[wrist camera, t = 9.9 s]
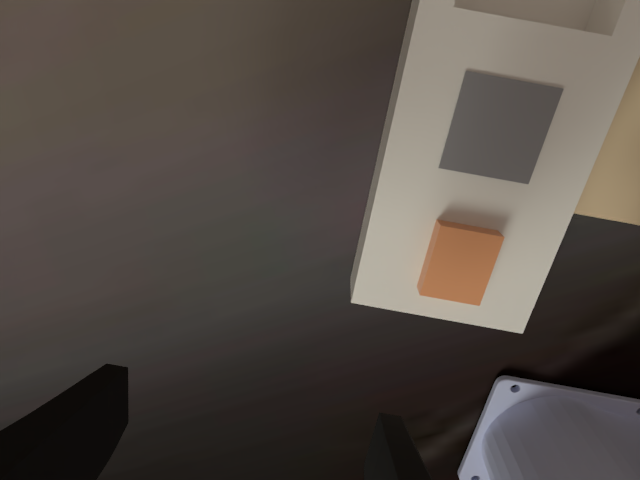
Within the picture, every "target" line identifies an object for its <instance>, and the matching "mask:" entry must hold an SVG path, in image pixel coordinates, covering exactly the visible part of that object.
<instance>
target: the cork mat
mask: <svg viewBox="0 0 640 480" xmlns="http://www.w3.org/2000/svg"><path fill="white" fill-rule="evenodd" d="M574 213H575V214H581V215H586V216H592V217H597V218H603V219H608V220H614V221H619V222H625V223H630V224H636V225H640V57H639V59H638V62H637V64H636V66H635V69H634V71H633V73H632V76H631V78H630V81H629V83H628V85H627V88H626V90H625V92H624V95H623V97H622V99H621V102H620V104H619V107H618V109H617V111H616V114H615V116H614V118H613V121H612V123H611V125H610V128H609V130H608V133H607V135H606V137H605V140H604V142H603V144H602V147H601V149H600V151H599V154H598V156H597V159H596V161H595V163H594V166H593V168H592V170H591V173H590V175H589V177H588V180H587V182H586V185H585V187H584V189H583V192H582V194H581V196H580V199H579V201H578V204H577V206H576V208H575V211H574Z"/></svg>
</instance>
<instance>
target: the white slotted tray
mask: <svg viewBox="0 0 640 480" xmlns="http://www.w3.org/2000/svg"><path fill="white" fill-rule="evenodd" d="M639 57H640V0H412V3H411V7H410V12H409V16H408V21H407V25H406V30H405V34H404V39H403V43H402V48H401V52H400V57H399V61H398V66H397V70H396V75H395V79H394V84H393V88H392V93H391V97H390V102H389V106H388V111H387V115H386V120H385V124H384V129H383V133H382V138H381V142H380V147H379V151H378V156H377V161H376V165H375V170H374V174H373V179H372V183H371V188H370V192H369V197H368V201H367V206H366V210H365V215H364V219H363V224H362V228H361V233H360V237H359V242H358V246H357V251H356V255H355V260H354V264H353V269H352V273H351V278H350V282H351V303H355V304H361V305H366V306H372V307H378V308H383V309H389V310H394V311H400V312H405V313H411V314H416V315H422V316H427V317H433V318H439V319H444V320H450V321H455V322H461V323H466V324H472V325H477V326H483V327H488V328H494V329H499V330H505V331H511V332H516V333H522V334H523V331H524V329H525V327H526V324H527V322H528V319H529V317H530V315H531V312H532V310H533V308H534V305H535V303H536V301H537V298H538V296H539V293H540V291H541V289H542V286H543V284H544V282H545V279H546V277H547V274H548V272H549V270H550V267H551V265H552V263H553V260H554V258H555V256H556V253H557V251H558V248H559V246H560V244H561V241H562V239H563V237H564V234H565V232H566V230H567V227H568V225H569V222H570V220H571V218H572V215H573V213H574V211H575V208H576V206H577V204H578V201H579V199H580V196H581V194H582V192H583V189H584V187H585V185H586V182H587V180H588V177H589V175H590V173H591V170H592V168H593V166H594V163H595V161H596V159H597V156H598V154H599V151H600V149H601V147H602V144H603V142H604V140H605V137H606V135H607V133H608V130H609V128H610V125H611V123H612V121H613V118H614V116H615V114H616V111H617V109H618V107H619V104H620V102H621V99H622V97H623V95H624V92H625V90H626V88H627V85H628V83H629V81H630V78H631V76H632V73H633V71H634V69H635V66H636V64H637V62H638V59H639Z"/></svg>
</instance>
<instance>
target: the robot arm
mask: <svg viewBox="0 0 640 480" xmlns="http://www.w3.org/2000/svg"><path fill="white" fill-rule="evenodd" d="M513 385H516V386H515V387H512V386H513ZM639 408H640V399H635V398H629V397H623V396H618V395H612V394H607V393H601V392H596V391H590V390H585V389H579V388H573V387H568V386H562V385H557V384H551V383H546V382H540V381H534V380H529V379H523V378H518V377H512V376H505V375H503V376H500V377H498V378H497V379H496V380H495V382H494V385H493V387H492V390H491V392H490V394H489V397H488V399H487V402H486V404H485V406H484V409H483V411H482V414H481V416H480V419H479V421H478V423H477V426H476V428H475V431H474V433H473V435H472V438H471V440H470V443H469V445H468V448H467V450H466V452H465V455H464V457H463V460H462V462H461V464H460V467H459V469H458V476H459V479H460V480H640V409H639ZM127 424H128V367H122V366H117V365H111V364H105V365H104V366H102V367H101V368H99V369H98V370H96V371H94V372H93V373H91V374H90V375H88V376H87V377H85V378H84V379H82V380H81V381H79V382H78V383H76V384H75V385H73V386H72V387H70V388H69V389H67V390H65V391H64V392H62V393H61V394H59V395H58V396H56V397H55V398H53V399H52V400H50V401H48V402H47V403H45V404H44V405H42V406H41V407H39V408H37V409H36V410H34V411H33V412H31V413H30V414H28V415H26V416H25V417H23V418H21V419H20V420H18V421H16V422H15V423H13V424H11V425H10V426H8V427H6V428H4V429H3V430H1V431H0V480H96V479H97V478H98V476H99V475H100V473H101V472H102V470H103V469H104V467H105V465H106V464H107V462H108V461H109V459H110V457H111V455H112V454H113V452H114V450H115V448H116V446H117V444H118V442H119V440H120V438H121V436H122V434H123V432H124V430H125V428H126V426H127ZM364 480H433V479H432V477H431V475H430V473H429V472H428V470H427V468H426V466H425V464H424V462H423V460H422V458H421V456H420V454H419V452H418V450H417V448H416V446H415V444H414V442H413V440H412V438H411V436H410V434H409V431H408V429H407V427H406V425H405V423H404V421H403V419H402V418H401V416H395V415H390V414H384V413H379V416H378V419H377V423H376V426H375V429H374V433H373V436H372V440H371V443H370V446H369V450H368V453H367V457H366V460H365V464H364Z"/></svg>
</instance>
